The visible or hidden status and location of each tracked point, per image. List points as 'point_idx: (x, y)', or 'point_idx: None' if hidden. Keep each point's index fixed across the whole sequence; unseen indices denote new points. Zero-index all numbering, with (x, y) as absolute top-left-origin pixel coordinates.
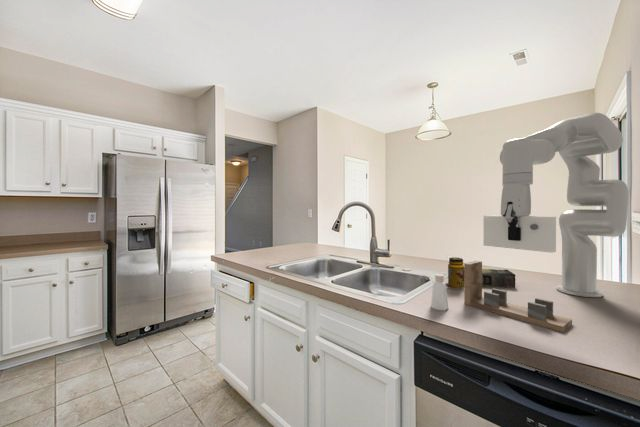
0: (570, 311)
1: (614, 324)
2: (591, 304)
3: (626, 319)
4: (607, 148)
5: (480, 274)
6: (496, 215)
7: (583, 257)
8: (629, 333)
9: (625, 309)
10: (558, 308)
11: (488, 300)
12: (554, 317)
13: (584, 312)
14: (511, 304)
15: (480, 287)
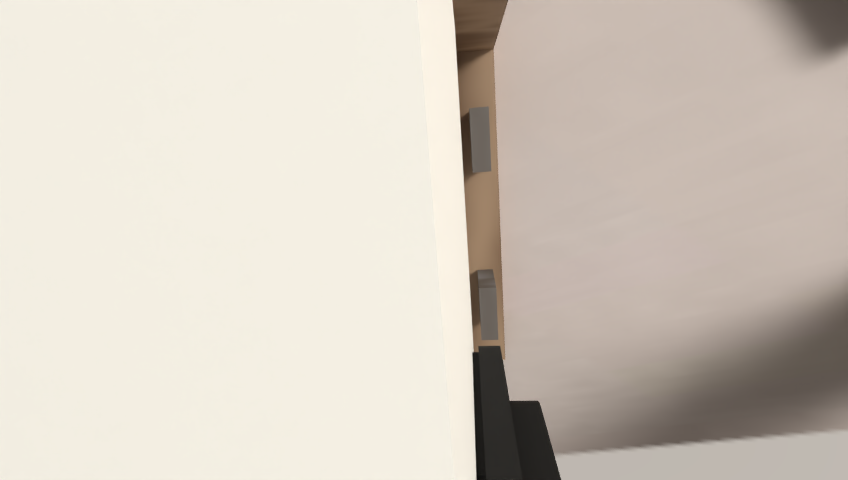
0: (649, 312)
1: (615, 415)
2: (824, 332)
3: (704, 427)
4: None
5: (482, 16)
6: (391, 125)
7: None
8: (563, 446)
9: (844, 411)
10: (653, 278)
11: None
12: (474, 324)
13: (677, 341)
14: (489, 185)
15: (479, 39)
